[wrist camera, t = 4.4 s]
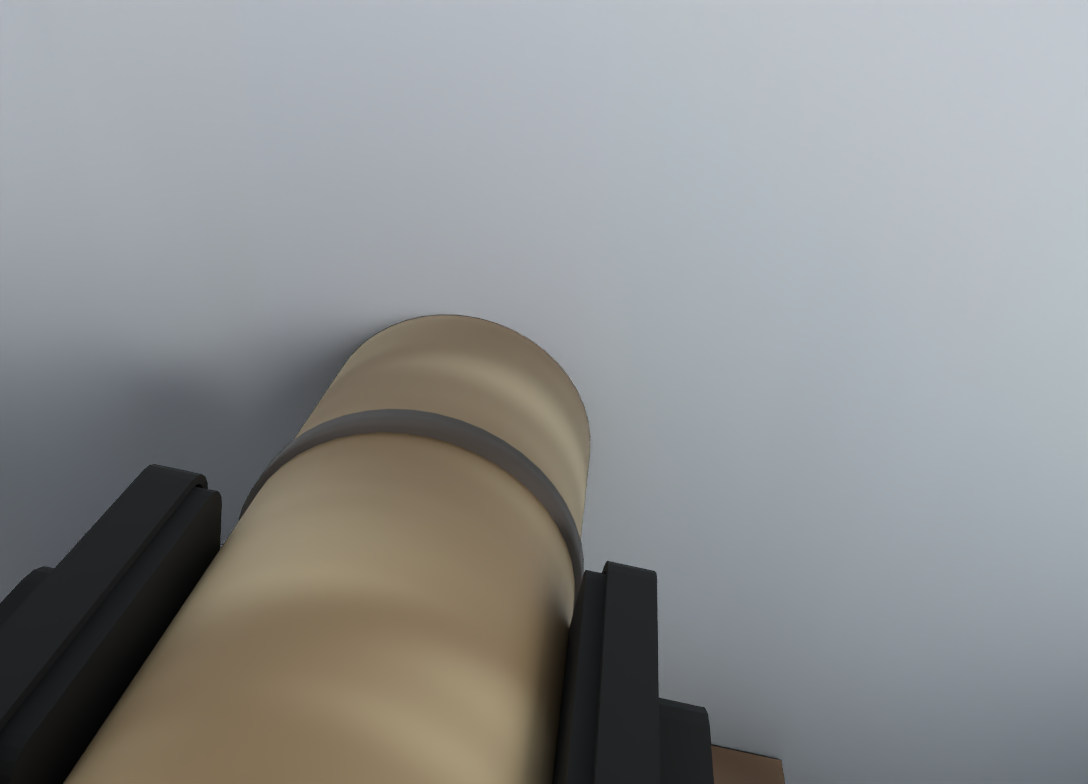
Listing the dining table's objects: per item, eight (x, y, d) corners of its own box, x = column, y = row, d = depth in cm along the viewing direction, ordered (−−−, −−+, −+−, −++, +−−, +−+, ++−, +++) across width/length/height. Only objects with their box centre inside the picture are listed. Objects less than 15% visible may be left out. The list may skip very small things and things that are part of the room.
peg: (623, 344, 13) (529, 2083, 3) (565, 575, 15) (375, 2123, 5) (334, 282, 13) (-918, 1757, 3) (312, 520, 15) (-471, 1940, 5)
